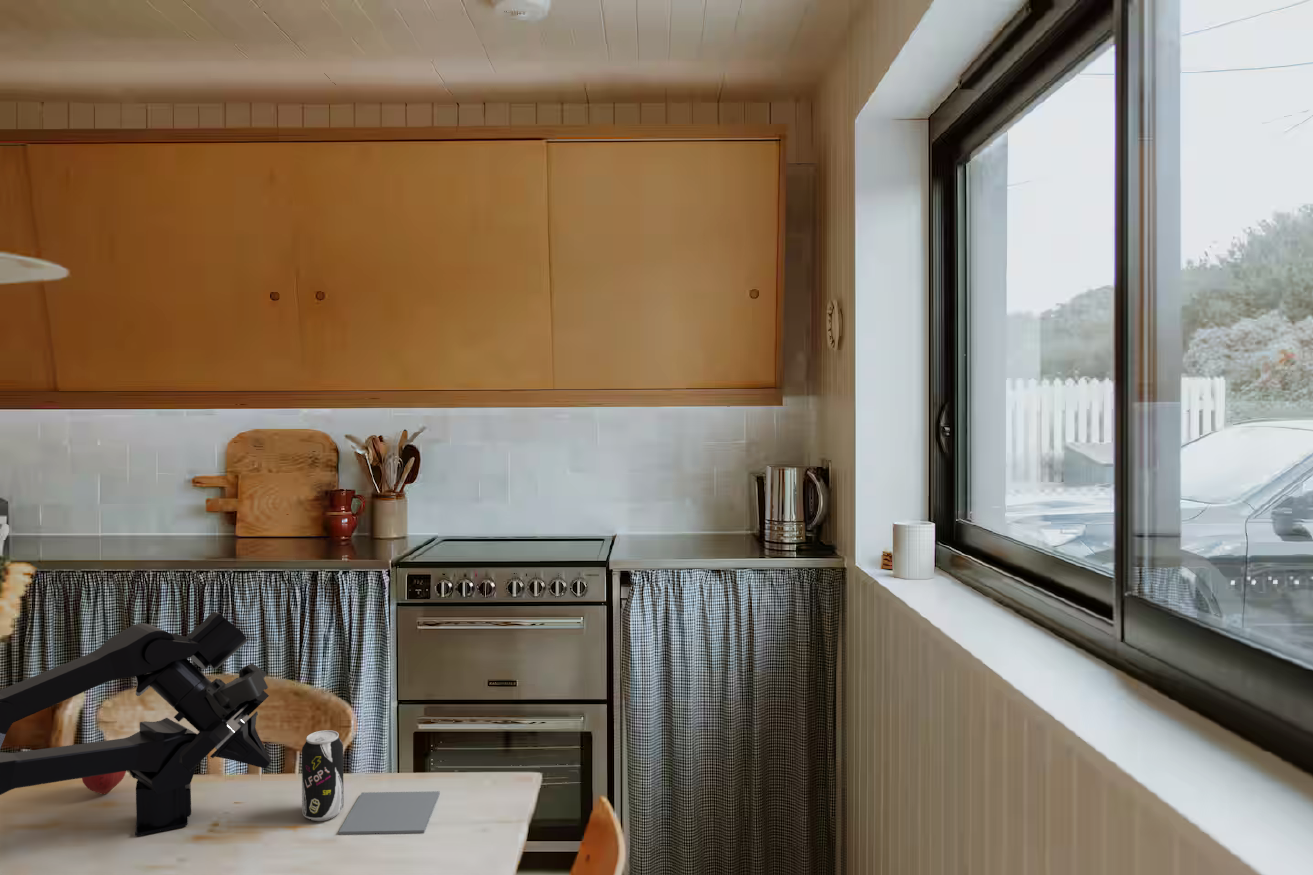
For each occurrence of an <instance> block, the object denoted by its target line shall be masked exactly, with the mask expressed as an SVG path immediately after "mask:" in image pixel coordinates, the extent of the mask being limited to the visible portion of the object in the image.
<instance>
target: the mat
mask: <svg viewBox="0 0 1313 875" xmlns="http://www.w3.org/2000/svg"><path fill="white" fill-rule="evenodd" d="M440 793H441V792H440V791H439V790H438V791H436V790H435V791H382V792H381V791H380V792H379V791H378V792H375V791H374V792H373V791H371V792H370V791H369V792H365V791H364V792H361V794H359V796H358V798H357V800H356V801H355V803H354V805H353V806H352V808H351V811H349V813H348V815H347V817H346V819H345V820H344V822H343V824H342V825H341V827H340V828H339V830H338V835H374V834H375V833H376V834H375V835H378V833H379V835H380V834H381V835H382V834H388V835H389V834H390V835H391V834H425V832H426V830H427V827H428V824H429V822H430V818H431V816H432V814H433V812H434V809H435V806H436V804H437V802H438V799H439V796H440Z"/></svg>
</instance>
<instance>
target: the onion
mask: <svg viewBox="0 0 1313 875" xmlns="http://www.w3.org/2000/svg"><path fill="white" fill-rule="evenodd" d="M126 773H127V771H123V772H116V773H110V774H104V775H97V776H91V777H85V778H81V780H82V783H83V785H84V786H85V787H86V788H87V789H89V790H90V791H92V792H95V793H98V794H101V795H107V794H109V793H110V792H111V791H112V790H113V789H114V788H115V787H117V786H118V785H119V784H120V783H121V782H122V780H123V779H124V777H125V776H126Z"/></svg>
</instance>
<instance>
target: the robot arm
mask: <svg viewBox="0 0 1313 875" xmlns="http://www.w3.org/2000/svg"><path fill="white" fill-rule="evenodd" d="M247 642H248V639H247V637H246V635H245V634H244V632H242V630H241V629H240V628H238V627H236V626H235V625H234V624H233V623H232V622H230V621H229V620H228V619H227V618H225V617H224V616H223V614H222V613H220V612H217V611H213V612H212V613H210V614H209V615H208V616H207V617H206V618H205V620H204V621H203V622H202V623H200V624H199V625H198V626H197V627H195V629H193V630H192V631H190V633H188V634H187V635H186V636H183V635H181V634H179V633H176V632H175V633H172V632H171V633H170V632H168V631H165V630H163V629H162V628H159V627H156V626H154V625H151V624H149V623H145V622H144V623H143V622H141V623H136V624H133V625H131V626H129V627H127V628H126V629H124V630H121V631H120V632H118V633H116V634H115V635H113V636H112V637H109V639H107V641H106V642H104V643H103V644H102V645H101V646H99V647H98V648H97V649H95V650H93V651H91V652H90V653H88V654H87V653H86V654H85V655H82V656H80V657H78V658H75V659H73V660H70V661H68V662H66V663H63V664H61V665H59V666H55V667H53V668H51V669H48V670H46V671H44V672H41V673H39V674H36V675H34V676H32V677H29V678H26V679H25V680H21V681H18V682H17V683H14V684H12V685H10V686H7V687H4V688H2V689H0V749H1V748H2V745H3V742H4V740H5V737H6V735H7V733H8V732H9V730H10V728H11V726H12V725H13V724H14V723H16V722H18V721H20V720H23V719H25V718H27V717H30V716H33V715H34V714H36V713H39V712H41V711H43V710H46V709H48V708H50V707H53V706H55V705H58V704H59V703H61V702H64V701H66V700H69V699H72V698H73V697H75V696H77V695H80V694H82V693H85V692H87V691H89V690H91V689H94V688H96V687H99V686H101V685H102V684H105V683H108V682H112V681H116V680H123V679H129V678H130V679H131V678H135V682H136V688H135V689H136V690H135V696H137V697H140V696H142V695H143V694H144V693H145V692H146V691H148V689H150V688H152V690H154V691H155V692H156V693H157V694H158V695H159V696H160V697H161V698H162V699H163V700H164V701H165V702H166V703H167V704H169V705H170V706H171V707H172V708H173V709H174V710H175V711H176V712H177V713H176V714H175V715H174V716H173V719H175V720H176V721H177V722H176V721H174V720H172V719H171V718H168V717H165V718H163V719H160V720H157V721H140V722H139V731H137V732H134V733H133V734H132V735H130V736H128V737H124V738H116V739H110V740H109V739H108V740H107V739H106V740H102V741H101V740H100V741H95V742H94V741H93V742H87V743H86V742H85V743H78V744H70V745H69V744H68V745H61V746H55V747H47V748H41V749H40V748H39V749H32V750H31V749H30V750H25V751H17V752H5V751H4V752H2V751H0V796H2V795H4V794H6V793H7V792H9V791H12V790H15V789H21V788H27V787H28V788H29V787H32V786H40V785H46V784H51V783H57V782H64V781H72V780H78V779H82V778H85V777H91V776H97V775H104V774H110V773H116V772H123V771H126V772H129V774H130V775H131V777H132V779H136V786H135V808H136V810H135V811H136V812H135V813H136V814H135V815H136V817H135V818H136V819H135V820H136V821H135V830H134V835H135V837H140V836H145V835H151V834H155V833H160V832H164V831H169V830H170V831H171V830H174V829H179V828H184V827H186V826H188V825H189V824H188V822H189V820H188V817H189V818H190V816H191V815H192V797H191V796H192V794H191V793H192V789H191V784H192V781H193V777H194V774H195V771H196V768H197V765H199V763H201V761H202V760H204V758H206V757H207V755H209V754H210V753H211V752H212V751H213V750H214V749H216V750H215V751H214V752H213V753H211V755H210V758H211V759H214V758H220V759H225V760H230V761H234V762H235V761H236V762H239V763H243V764H247V765H249V766H250V765H251V766H253V767H257V768H261V769H267V767H269V766H270V764H271V763H272V759H271V757H270V755H269V753H268V752H267V749H266V747H265V746H264V744H263V742H262V740H261V738H260V736H259V733H258V731H257V729H256V724H257V723H256V722H257V716H258V715H259V712H258V711H255V710H256V709H257V708H259V706H260V705H261V704H263V703H264V702H265V700H267V699H268V698H269V697H270V695H269V694H268V693H267V692H266V691H265V690H268V688H269V686H268V684H267V682H266V680H265V678H266V677H267V672H266V671H265V670H262V667H258V666H257V665H255V664H254V663H250V664H247V665H245V666H243V667H242V668H240V670H238V677H236V678H234V679H233V680H231V681H229V682H228V683H227V682H226V683H225V682H224V680H222V679H221V678H219V679H218V678H216V679H214V680H213V681H211V680H210V679H209V678H208V677H207V676H206V675H205V674H204V673H203V672H201V670H200V669H202V670H205V671H206V670H207V669H208V668H209V667H210V668H211V669H212V670H217V669H218V668H219V667H220V666H222V665H223V664H224V663H225V662H226V661H227V660H228V659H229V658H231V657H232V656H233V655H235V653H236V652H237V651H238V650H239V649H241V647H242V646H245V644H246V643H247ZM188 659H191V661H193V662H194V663H195V664H196V665H197V666H198V667H200V669H198V668H197V667H196V666H195V665H194V664H193V663H192V662H191V661H190V660H188ZM254 711H255V712H254ZM253 712H254V713H253ZM252 713H253V714H252ZM251 714H252V715H251ZM184 719H185V720H186V721H187V722H188V723H189V724H190V725H191V726H192V727H193V728H194V729H196V730H197V731H198V733H197V732H195V731H193V730H191V729H190V728H187V727H186V726H184V725H182V724H180V723H179V722H181V721H182V720H184Z"/></svg>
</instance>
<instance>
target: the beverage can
mask: <svg viewBox="0 0 1313 875" xmlns="http://www.w3.org/2000/svg"><path fill="white" fill-rule="evenodd" d="M339 736H340V734H339V732H337V731H336V730H329V729H327V730H324V729H323V730H319V731H318V730H317V731H315V732H312V733H310V734H308V735H307V736H306V739H305V743H304V744H303V745H302V748H301V793H302V794H301V796H302V797H301V798H302V799H301V802H302V805H301V807H302V809H301V812H302V815H303V817H305V818H306V819H309V820H310V819H311V821H313V822H323V821H328V820H331V819H333V818H335V817H336V816H337V815H339V814H340V813H341V812H342V811H343V810H344V743H343V741H342V740H341V738H340V737H339ZM330 818H331V819H330Z"/></svg>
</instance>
